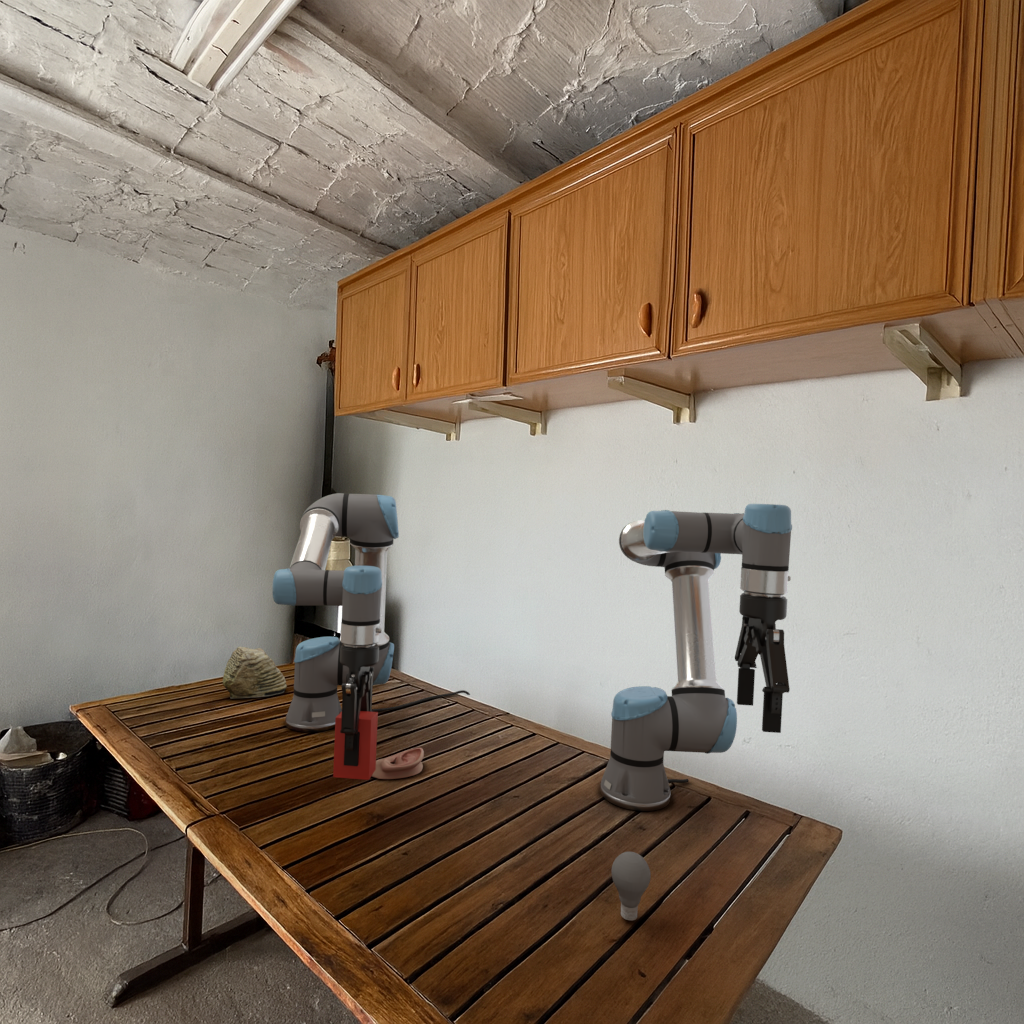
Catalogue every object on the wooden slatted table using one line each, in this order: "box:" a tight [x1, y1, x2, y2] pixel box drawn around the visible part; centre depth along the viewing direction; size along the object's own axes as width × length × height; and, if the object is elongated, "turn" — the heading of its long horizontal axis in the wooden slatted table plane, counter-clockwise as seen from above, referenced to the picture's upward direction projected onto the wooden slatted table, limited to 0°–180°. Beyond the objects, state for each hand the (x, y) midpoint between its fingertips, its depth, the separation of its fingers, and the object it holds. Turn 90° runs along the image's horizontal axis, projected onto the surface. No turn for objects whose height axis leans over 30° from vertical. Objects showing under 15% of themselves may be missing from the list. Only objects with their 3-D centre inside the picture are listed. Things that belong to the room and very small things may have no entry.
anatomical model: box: [371, 747, 425, 780], centre depth 148 cm, size 13×4×12 cm
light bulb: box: [611, 851, 652, 921], centre depth 99 cm, size 6×6×10 cm
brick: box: [332, 711, 379, 781], centre depth 127 cm, size 7×5×12 cm, turn 86°
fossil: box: [222, 646, 288, 699], centre depth 198 cm, size 9×18×15 cm, turn 132°
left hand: (355, 759), depth 127 cm, fingers closed on brick, 5 cm apart
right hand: (757, 717), depth 109 cm, fingers open, 13 cm apart
